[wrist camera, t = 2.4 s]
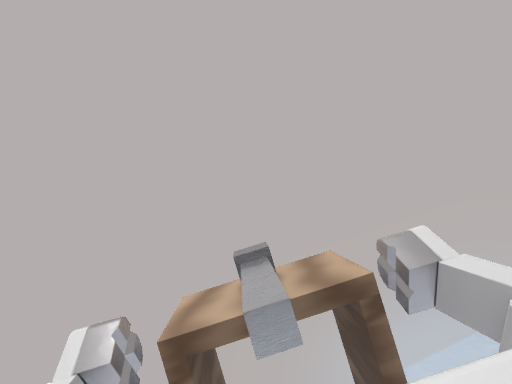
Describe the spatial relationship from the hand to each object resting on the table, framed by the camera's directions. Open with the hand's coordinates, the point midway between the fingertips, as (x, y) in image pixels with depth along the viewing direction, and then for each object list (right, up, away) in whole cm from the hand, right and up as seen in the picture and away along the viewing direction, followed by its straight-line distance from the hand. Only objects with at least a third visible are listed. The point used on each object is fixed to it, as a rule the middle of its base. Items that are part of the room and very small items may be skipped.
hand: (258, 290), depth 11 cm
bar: (+1, -7, +20) cm, 21 cm away
